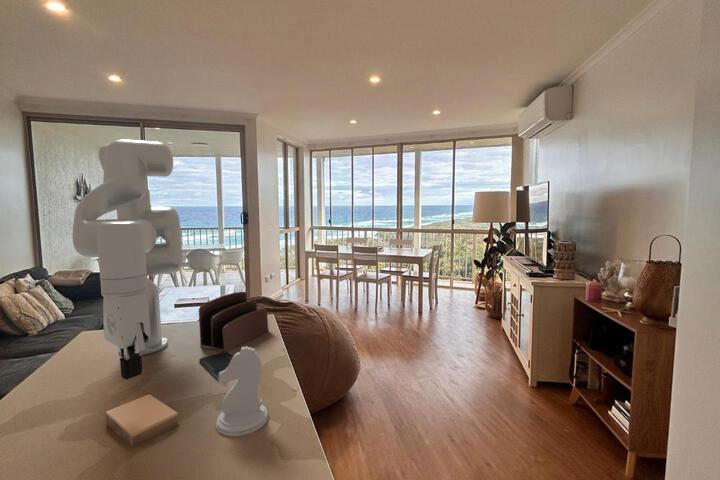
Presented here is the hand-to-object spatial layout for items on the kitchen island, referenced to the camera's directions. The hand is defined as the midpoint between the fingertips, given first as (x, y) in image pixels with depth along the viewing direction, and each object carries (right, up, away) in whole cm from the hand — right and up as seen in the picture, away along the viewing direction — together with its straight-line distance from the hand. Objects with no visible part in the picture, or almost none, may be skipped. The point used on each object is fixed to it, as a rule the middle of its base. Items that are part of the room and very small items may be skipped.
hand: (132, 375), depth 71 cm
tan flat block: (-2, -8, +3) cm, 9 cm away
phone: (+9, -7, +24) cm, 27 cm away
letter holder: (+6, -5, +44) cm, 45 cm away
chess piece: (+22, -9, 0) cm, 24 cm away
